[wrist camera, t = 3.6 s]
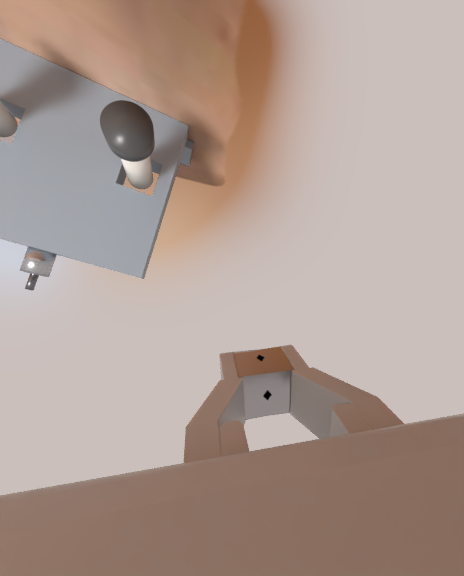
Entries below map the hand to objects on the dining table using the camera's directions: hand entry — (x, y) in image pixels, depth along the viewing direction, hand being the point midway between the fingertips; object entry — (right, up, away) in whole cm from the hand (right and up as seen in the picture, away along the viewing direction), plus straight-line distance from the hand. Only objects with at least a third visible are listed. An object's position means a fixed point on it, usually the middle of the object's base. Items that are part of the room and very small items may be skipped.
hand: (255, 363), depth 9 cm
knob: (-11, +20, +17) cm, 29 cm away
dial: (-24, +8, +19) cm, 32 cm away
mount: (-19, +29, +23) cm, 42 cm away
